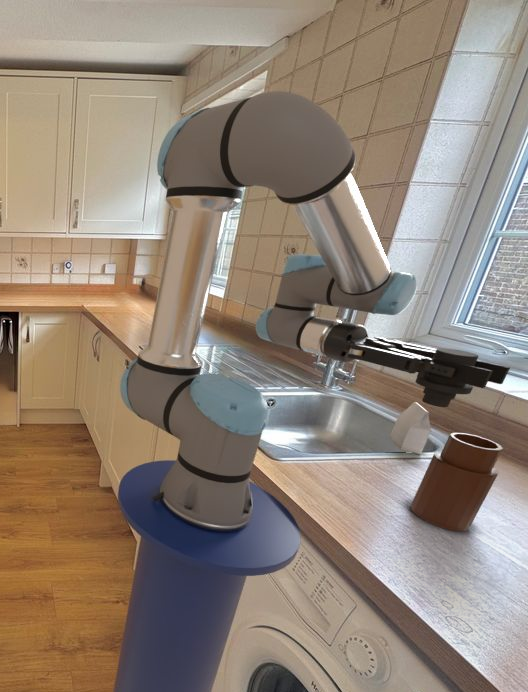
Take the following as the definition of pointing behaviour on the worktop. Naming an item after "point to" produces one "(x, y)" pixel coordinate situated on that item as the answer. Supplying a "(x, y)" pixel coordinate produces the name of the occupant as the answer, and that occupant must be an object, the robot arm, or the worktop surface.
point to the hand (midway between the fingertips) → (496, 377)
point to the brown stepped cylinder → (457, 481)
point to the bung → (444, 389)
